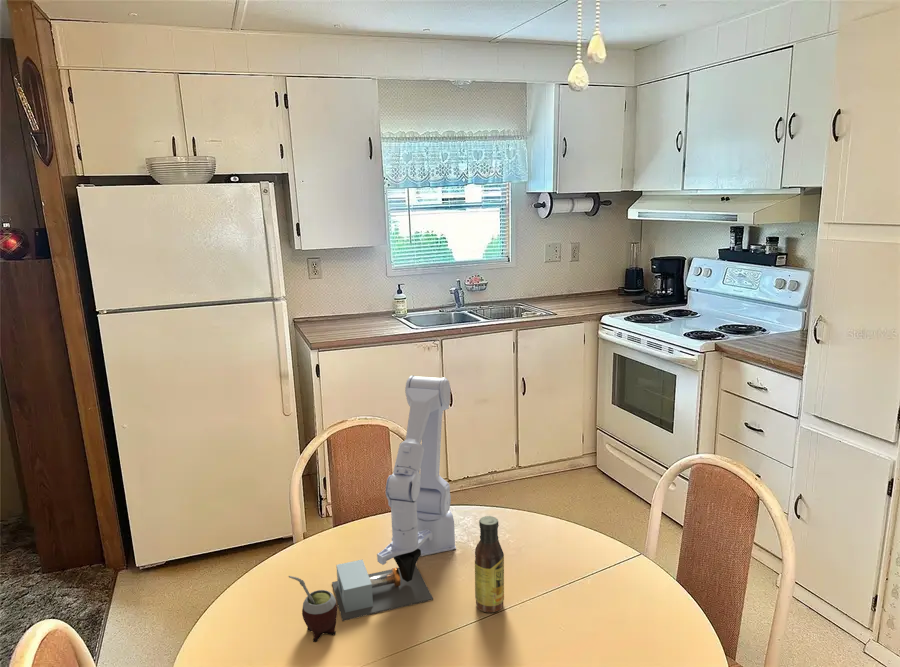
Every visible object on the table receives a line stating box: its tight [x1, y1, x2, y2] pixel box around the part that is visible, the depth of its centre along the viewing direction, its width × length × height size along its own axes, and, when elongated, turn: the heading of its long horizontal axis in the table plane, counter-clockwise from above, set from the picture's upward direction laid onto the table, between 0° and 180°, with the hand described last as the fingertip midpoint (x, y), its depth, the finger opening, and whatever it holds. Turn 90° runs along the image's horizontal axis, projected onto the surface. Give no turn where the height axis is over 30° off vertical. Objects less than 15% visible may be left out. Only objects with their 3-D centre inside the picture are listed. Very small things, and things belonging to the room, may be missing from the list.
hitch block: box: [335, 559, 373, 613], centre depth 140 cm, size 6×10×6 cm, turn 19°
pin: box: [369, 567, 401, 588], centre depth 141 cm, size 11×4×4 cm, turn 109°
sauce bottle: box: [474, 515, 505, 614], centre depth 135 cm, size 6×6×20 cm
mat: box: [331, 565, 434, 622], centre depth 143 cm, size 20×14×1 cm
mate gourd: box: [288, 575, 339, 643], centre depth 128 cm, size 8×8×15 cm
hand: (407, 579), depth 144 cm, fingers closed
